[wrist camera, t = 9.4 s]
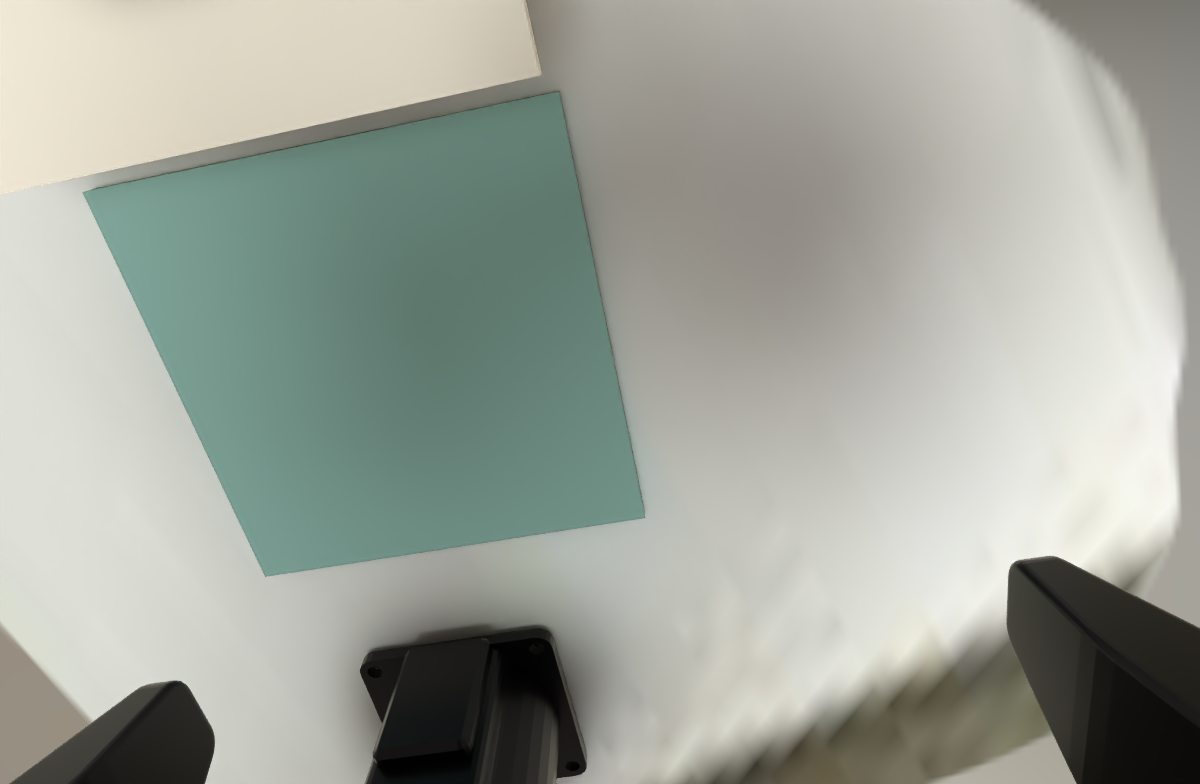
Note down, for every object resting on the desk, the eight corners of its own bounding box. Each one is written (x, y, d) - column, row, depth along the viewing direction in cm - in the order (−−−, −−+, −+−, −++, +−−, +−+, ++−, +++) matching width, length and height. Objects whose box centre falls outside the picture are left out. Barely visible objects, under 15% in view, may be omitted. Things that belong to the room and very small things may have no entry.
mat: (644, 510, 23) (644, 517, 22) (270, 568, 24) (265, 576, 24) (558, 91, 18) (558, 92, 18) (92, 189, 19) (82, 192, 19)
